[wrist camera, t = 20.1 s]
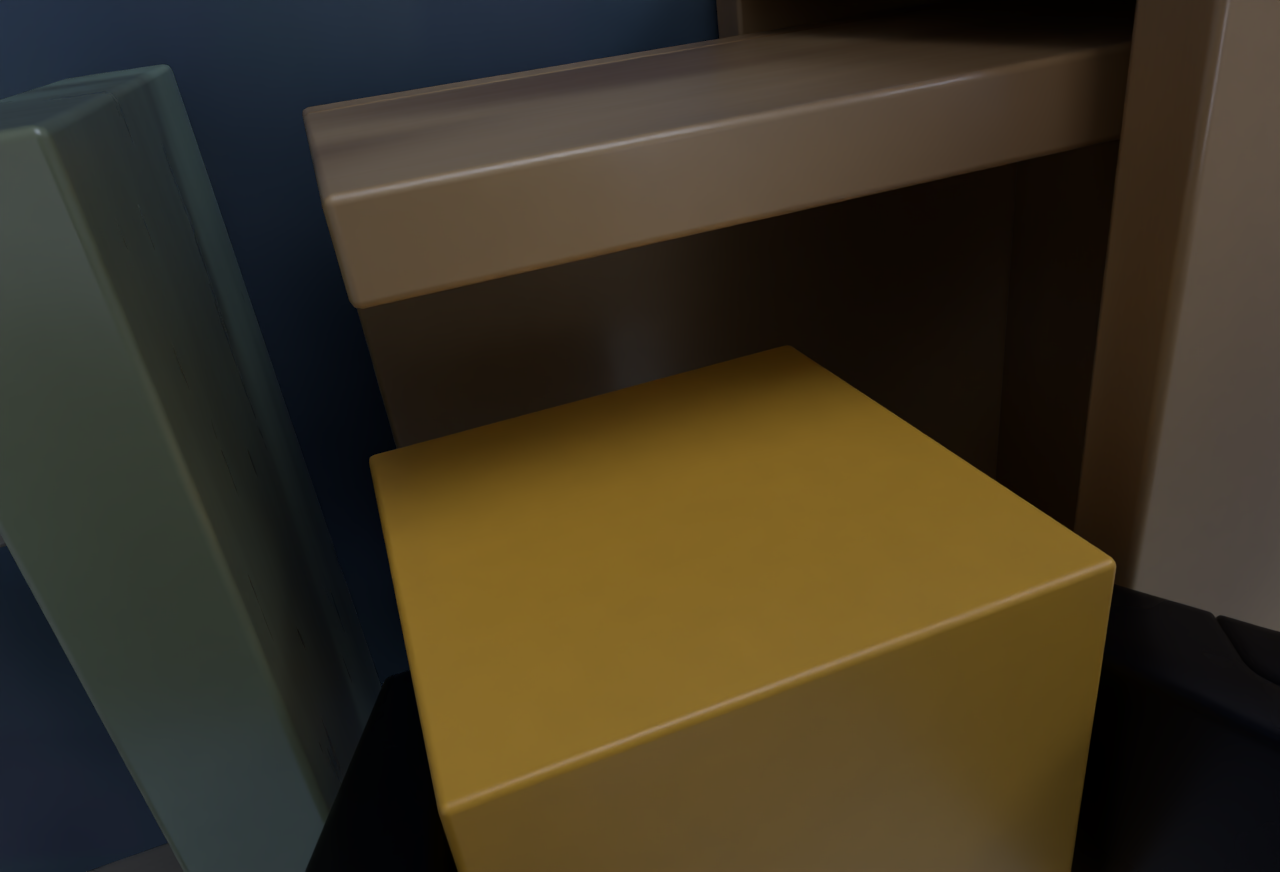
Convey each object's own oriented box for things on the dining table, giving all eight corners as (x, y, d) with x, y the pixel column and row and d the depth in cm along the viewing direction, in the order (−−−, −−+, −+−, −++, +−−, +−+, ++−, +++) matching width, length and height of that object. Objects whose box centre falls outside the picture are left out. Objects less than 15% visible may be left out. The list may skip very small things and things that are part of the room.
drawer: (68, 865, 15) (-69, 1420, 9) (-385, 145, 9) (-1434, 361, 4) (983, 547, 19) (1289, 780, 13) (1023, -65, 14) (1557, -119, 8)
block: (367, 453, 9) (436, 812, 5) (789, 341, 10) (1119, 559, 6) (467, 785, 11) (572, 1220, 7) (805, 661, 12) (1059, 975, 8)
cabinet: (761, 615, 19) (1065, 996, 12) (709, -67, 13) (1249, -163, 6) (1287, 434, 23) (1769, 637, 15) (1428, -164, 17) (2316, -298, 9)
